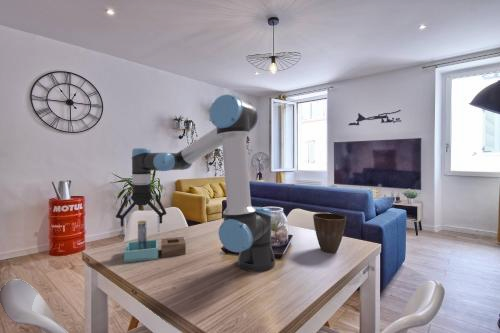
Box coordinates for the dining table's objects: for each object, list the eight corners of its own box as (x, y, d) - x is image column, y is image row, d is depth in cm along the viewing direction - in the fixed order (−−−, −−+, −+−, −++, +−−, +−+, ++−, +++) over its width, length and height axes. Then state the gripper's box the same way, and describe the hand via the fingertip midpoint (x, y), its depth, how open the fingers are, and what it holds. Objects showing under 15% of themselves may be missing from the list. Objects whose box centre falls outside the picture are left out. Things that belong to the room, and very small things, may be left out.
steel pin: (146, 254, 113) (146, 222, 112) (137, 255, 111) (137, 222, 111) (146, 251, 116) (146, 220, 116) (138, 252, 115) (138, 220, 114)
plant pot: (316, 243, 132) (316, 211, 131) (347, 247, 125) (347, 214, 125) (309, 252, 118) (310, 217, 118) (344, 257, 112) (344, 221, 111)
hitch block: (185, 254, 115) (185, 243, 115) (161, 257, 112) (161, 245, 112) (183, 247, 124) (183, 236, 124) (161, 249, 121) (161, 238, 121)
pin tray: (158, 258, 110) (158, 248, 110) (124, 262, 105) (124, 252, 105) (158, 248, 122) (157, 239, 122) (127, 252, 118) (127, 242, 118)
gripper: (171, 182, 121) (171, 227, 121) (111, 183, 112) (111, 232, 113) (172, 183, 113) (172, 231, 114) (107, 185, 105) (108, 237, 106)
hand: (142, 232), depth 113 cm, fingers open, 13 cm apart
